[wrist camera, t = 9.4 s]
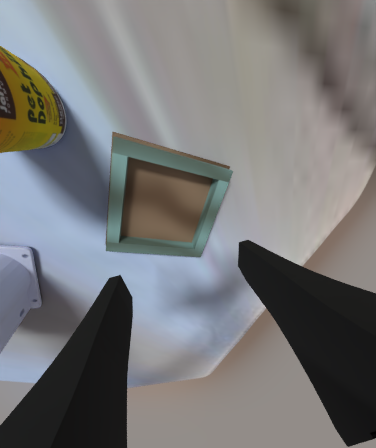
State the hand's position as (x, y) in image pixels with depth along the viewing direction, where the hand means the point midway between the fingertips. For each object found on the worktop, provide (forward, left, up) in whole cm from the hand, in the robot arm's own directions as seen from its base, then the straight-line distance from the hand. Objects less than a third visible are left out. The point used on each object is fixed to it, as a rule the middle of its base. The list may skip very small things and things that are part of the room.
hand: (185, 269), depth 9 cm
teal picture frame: (0, 0, -10) cm, 10 cm away
